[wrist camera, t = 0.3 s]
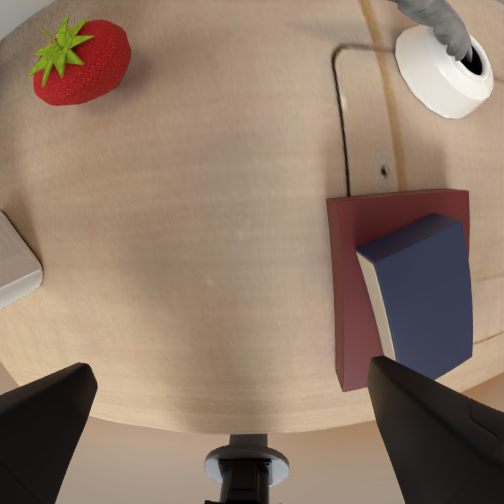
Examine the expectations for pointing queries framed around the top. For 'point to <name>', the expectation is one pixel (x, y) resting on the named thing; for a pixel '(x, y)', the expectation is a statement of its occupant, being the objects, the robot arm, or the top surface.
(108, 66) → the strawberry
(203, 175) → the top surface
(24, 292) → the photo printer
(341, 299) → the burgundy book
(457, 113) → the inkwell
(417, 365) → the navy book
